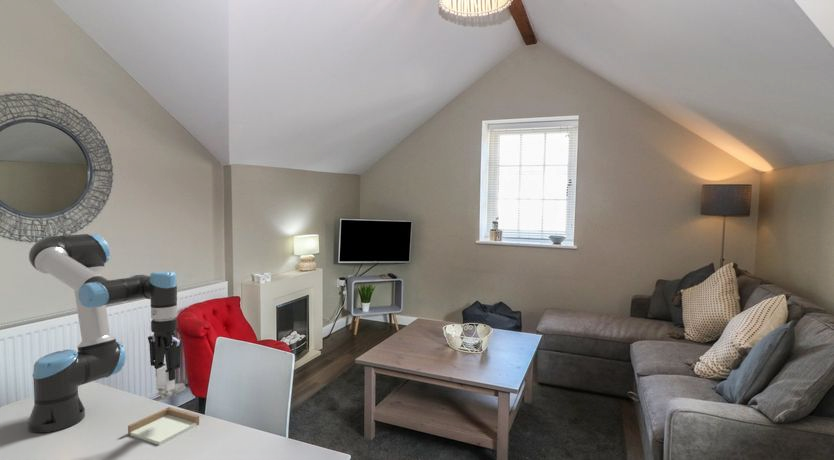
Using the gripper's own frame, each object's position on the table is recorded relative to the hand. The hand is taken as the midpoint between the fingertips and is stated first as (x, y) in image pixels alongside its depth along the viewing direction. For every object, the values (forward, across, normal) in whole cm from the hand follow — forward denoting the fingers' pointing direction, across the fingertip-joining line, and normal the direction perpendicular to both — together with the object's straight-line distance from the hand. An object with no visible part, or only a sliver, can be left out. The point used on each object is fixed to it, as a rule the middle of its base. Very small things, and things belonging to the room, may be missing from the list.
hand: (165, 388), depth 145 cm
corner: (+15, -2, +1) cm, 15 cm away
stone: (+4, +3, -1) cm, 5 cm away
